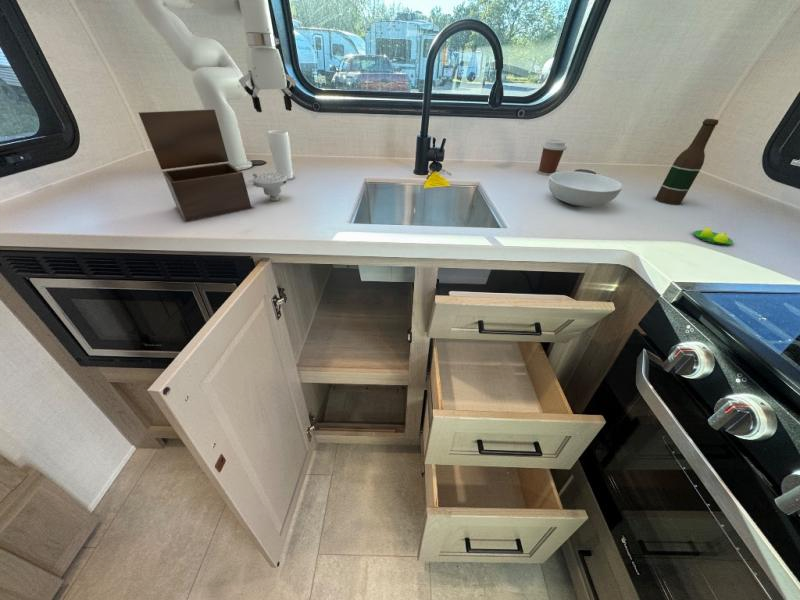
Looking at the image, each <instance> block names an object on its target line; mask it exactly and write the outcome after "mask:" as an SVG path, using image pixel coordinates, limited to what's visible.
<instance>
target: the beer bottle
mask: <svg viewBox="0 0 800 600" xmlns="http://www.w3.org/2000/svg"><path fill="white" fill-rule="evenodd" d="M717 125H719V120H718V119H717V118H716V119H715V118H705V119H704V120H703V121H702V125H701V127H700V128H699V130H698V131H697V133H696V135H695V137H694V138H693V140H692V141H691V143H690V144H689V146H688V147H687V148H686V149H684V150H683V151H681V152H680V153H679V155H678V156H677V157H676V158H675V160H674V162H673V164H672V165H671V167H670V169H669V171H668V173H667V175H666V176H665V178H664V180H663V183H662V185H661V186H660V188H659V190H658V192H657V194H656V196H655V200H656V201H658V202H660V203H664V204H668V205H680V204H682V202H683V201H684V200H685V198H686V195H687V194H688V192H689V190H690V189H691V187H692V185H693V183H694V182H695V180H696V178H697V177H698V175H699V173H700V171H701V170H702V167H703V165H704V163H705V157H706V154H705V149H706V146H707V144H708V142H709V140H710V138H711V137H712V134H713V132H714V129H715V128H716V127H717Z"/></svg>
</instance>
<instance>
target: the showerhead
mask: <svg viewBox="0 0 800 600" xmlns="http://www.w3.org/2000/svg"><path fill="white" fill-rule="evenodd" d="M252 176H253V178H252V182H253V186H255V187H257V188H261V189H263V193H264V195H266V196H269V198H270V201H271V202H275V201H278V200H279V195H280V194H282V188H281V187H283V186H286V185H287V184H288V180H287V177H286V176H284V175H280V174H277V173H272V172H271V173H266V174H265V173H263V174H259V175H258V174H257V173H254V172H253V174H252Z"/></svg>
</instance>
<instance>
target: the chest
mask: <svg viewBox="0 0 800 600" xmlns="http://www.w3.org/2000/svg"><path fill="white" fill-rule="evenodd" d="M162 175H163V177H164V180H165V182H166V184H167V187H168V189H169V192H170V195H171V197H172V200H173V202H174V205H175V207H176V209H177V210H178V212H179V214H180V215H181V216H182V218H183V219H184V221H185V222H191V221H196V220H201V219H207V218H211V217H214V216H215V217H216V216H220V215H225V214H231V213H235V212H240V211H246V210H249V209H250V210H251V209H252V207H253V206H252V204H251V199H250V196H249V192H248V189H247V184H246V181H245V177H244V173H243V172H242V170H238V169H237V168H235V167H234V166H232V165H231V164H230V163H224V164H218V163H215V164H207V165H199V166H191V167H183V168H175V169H167V170H162Z"/></svg>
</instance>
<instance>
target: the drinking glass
mask: <svg viewBox="0 0 800 600" xmlns="http://www.w3.org/2000/svg"><path fill="white" fill-rule="evenodd" d="M266 137H267V142H268V146H269V149H270V153H271V156H272V161H273V164H274V167H275V171H276V174H280V175H284V176H286V177H287V181H288V180H292V179H293V178H294V172H293V162H292V149H291V141H290V135H289V132H288V131H287V130H283V129H273V130H268V131H267V132H266Z"/></svg>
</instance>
